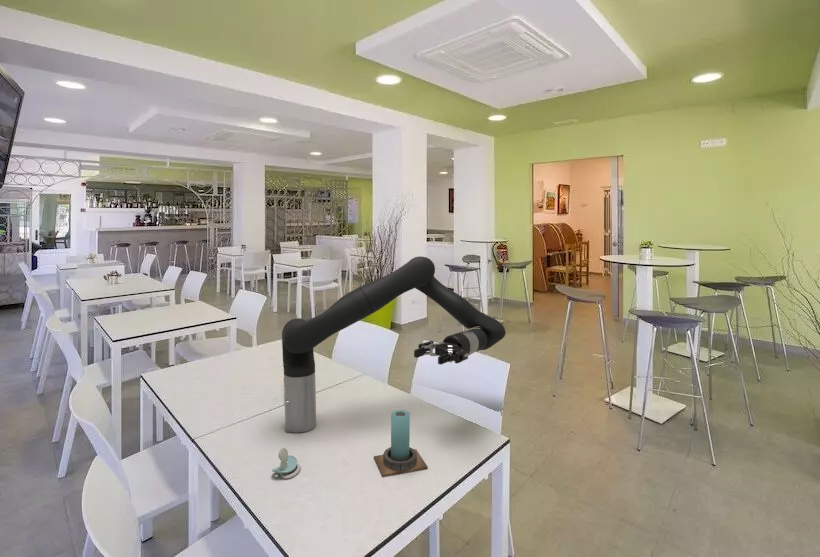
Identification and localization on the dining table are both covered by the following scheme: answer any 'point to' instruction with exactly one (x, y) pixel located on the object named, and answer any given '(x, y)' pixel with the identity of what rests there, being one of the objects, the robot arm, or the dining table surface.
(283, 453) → the pacifier
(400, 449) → the teal cylinder
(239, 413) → the dining table surface
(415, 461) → the socket
